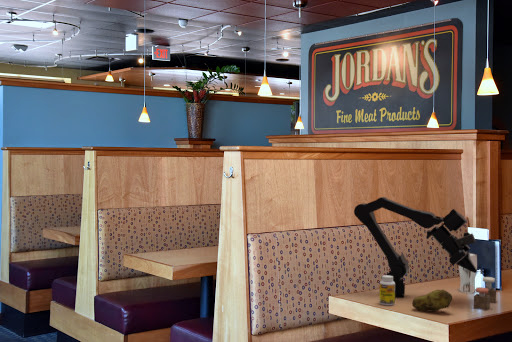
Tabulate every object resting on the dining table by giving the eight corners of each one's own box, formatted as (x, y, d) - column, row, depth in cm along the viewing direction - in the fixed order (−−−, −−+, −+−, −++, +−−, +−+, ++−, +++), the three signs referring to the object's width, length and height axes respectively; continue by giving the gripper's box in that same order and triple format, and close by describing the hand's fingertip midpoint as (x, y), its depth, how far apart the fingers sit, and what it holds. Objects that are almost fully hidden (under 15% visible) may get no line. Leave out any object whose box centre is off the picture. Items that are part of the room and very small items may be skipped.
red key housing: (473, 308, 223) (473, 296, 222) (476, 305, 226) (476, 293, 226) (486, 310, 220) (487, 297, 220) (489, 307, 224) (490, 295, 224)
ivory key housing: (482, 301, 233) (483, 290, 233) (480, 299, 237) (481, 287, 237) (495, 302, 232) (496, 290, 232) (493, 299, 236) (493, 288, 236)
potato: (421, 306, 224) (421, 284, 224) (455, 313, 215) (455, 290, 215) (409, 310, 218) (410, 287, 218) (444, 317, 209) (444, 293, 209)
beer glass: (477, 293, 247) (478, 256, 246) (459, 292, 248) (460, 255, 248) (475, 290, 254) (476, 253, 253) (457, 289, 255) (458, 252, 255)
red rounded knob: (474, 303, 223) (474, 288, 222) (477, 301, 226) (477, 286, 226) (486, 305, 220) (487, 290, 220) (489, 302, 224) (489, 288, 224)
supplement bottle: (378, 305, 225) (378, 276, 225) (380, 301, 230) (380, 274, 230) (394, 306, 223) (394, 278, 223) (395, 303, 228) (396, 275, 228)
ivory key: (483, 292, 233) (484, 278, 233) (481, 290, 237) (482, 276, 237) (495, 293, 232) (495, 279, 232) (493, 290, 236) (493, 277, 236)
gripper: (460, 228, 222) (491, 261, 218) (465, 223, 239) (494, 254, 235) (436, 248, 225) (467, 281, 221) (443, 242, 242) (471, 273, 238)
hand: (476, 272), depth 229 cm, fingers closed
